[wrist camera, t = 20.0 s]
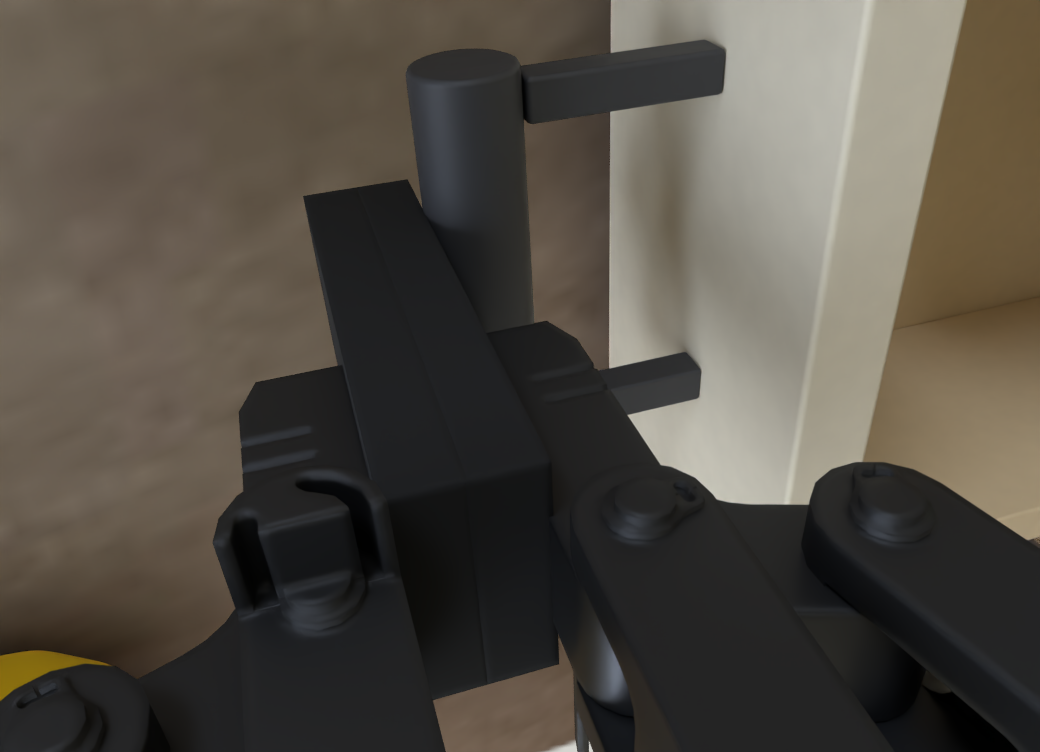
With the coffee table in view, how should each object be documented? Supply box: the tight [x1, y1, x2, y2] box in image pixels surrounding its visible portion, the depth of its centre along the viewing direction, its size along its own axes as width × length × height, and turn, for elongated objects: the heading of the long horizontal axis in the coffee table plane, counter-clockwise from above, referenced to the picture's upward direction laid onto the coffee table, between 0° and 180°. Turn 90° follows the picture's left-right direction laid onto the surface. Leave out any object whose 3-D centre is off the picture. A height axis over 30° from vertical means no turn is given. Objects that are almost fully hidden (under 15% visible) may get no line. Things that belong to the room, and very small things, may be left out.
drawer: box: [406, 0, 1040, 540], centre depth 14 cm, size 18×12×7 cm
